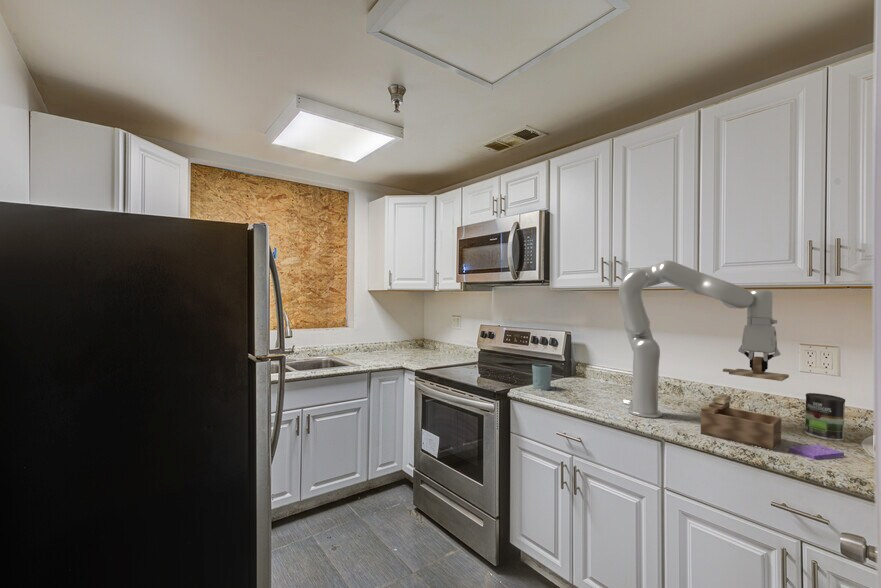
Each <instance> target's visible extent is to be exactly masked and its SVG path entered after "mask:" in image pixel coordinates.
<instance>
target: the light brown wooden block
mask: <svg viewBox="0 0 881 588" xmlns="http://www.w3.org/2000/svg"><path fill="white" fill-rule="evenodd" d="M730 401H731V395H729V394H728V395H727V394H723V393H722V394H721V393H719V394H717V395H715V396H713V398H712V402H713V403H719V404H726V403H728V402H730Z"/></svg>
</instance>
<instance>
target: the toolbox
mask: <svg viewBox="0 0 881 588" xmlns="http://www.w3.org/2000/svg"><path fill="white" fill-rule="evenodd" d="M730 404H731V403H730V401H729V402H728V403H726V404H719V403H713V401H712V402H711V403H709V404H708V406H707V405H705V406H703V407H701V408H700V435H705V436H709V437H712V438H717V439H721V440H725V441H729V442H733V441H734V442H733V443H737V442H738V443H737V444H741V443H743V445H746V444H747V445H746V446H750V445H753V446H752V447H754V446H757V447H756V448H758V447H761V448H760V449H762V448H765V449H764V450H767V449H769V450H768V451H771V450H773V449H774V448H775V447H776V448H777V446H779V444H780V443H781V441H782V417H780V416H774V415H769V414H764V413H759V412H753V411H747V410H742V409H737V408H732V407H730V406H731V405H730ZM776 448H775V449H776ZM775 449H774V450H775ZM774 450H773V451H774Z"/></svg>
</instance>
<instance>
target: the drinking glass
mask: <svg viewBox="0 0 881 588" xmlns="http://www.w3.org/2000/svg"><path fill="white" fill-rule="evenodd" d="M531 368H532V369H531V370H532V387H534V388H536V389H541V390H540V391H549V389H550V390H551V381H552V371H553V365H550V364H544V363H534V364H532V365H531ZM534 388H533V389H534ZM536 389H535V390H536Z"/></svg>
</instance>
